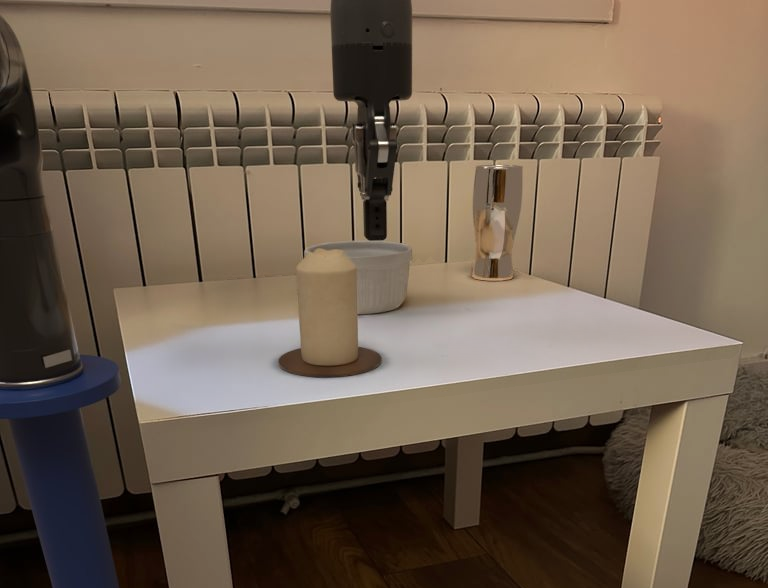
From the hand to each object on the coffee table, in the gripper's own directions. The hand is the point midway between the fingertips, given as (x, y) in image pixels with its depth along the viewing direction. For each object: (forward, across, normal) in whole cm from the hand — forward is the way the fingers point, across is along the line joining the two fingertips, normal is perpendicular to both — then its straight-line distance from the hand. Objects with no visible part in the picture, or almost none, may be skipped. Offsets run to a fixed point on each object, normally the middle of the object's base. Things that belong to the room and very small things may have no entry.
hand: (375, 239), depth 76 cm
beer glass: (+10, -29, +22) cm, 38 cm away
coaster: (+10, +10, -6) cm, 15 cm away
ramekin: (+10, -14, 0) cm, 17 cm away
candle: (+10, +10, -6) cm, 15 cm away
